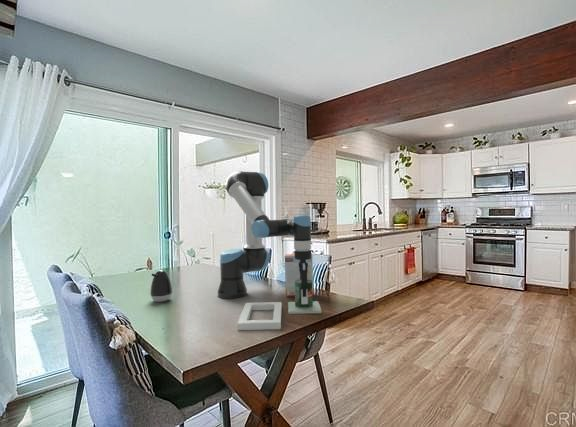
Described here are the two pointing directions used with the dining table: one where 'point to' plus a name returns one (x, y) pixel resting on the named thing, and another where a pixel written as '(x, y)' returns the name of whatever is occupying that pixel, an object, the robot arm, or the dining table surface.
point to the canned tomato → (298, 294)
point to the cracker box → (295, 273)
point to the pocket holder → (260, 324)
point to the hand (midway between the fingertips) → (303, 300)
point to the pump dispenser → (161, 287)
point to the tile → (313, 309)
